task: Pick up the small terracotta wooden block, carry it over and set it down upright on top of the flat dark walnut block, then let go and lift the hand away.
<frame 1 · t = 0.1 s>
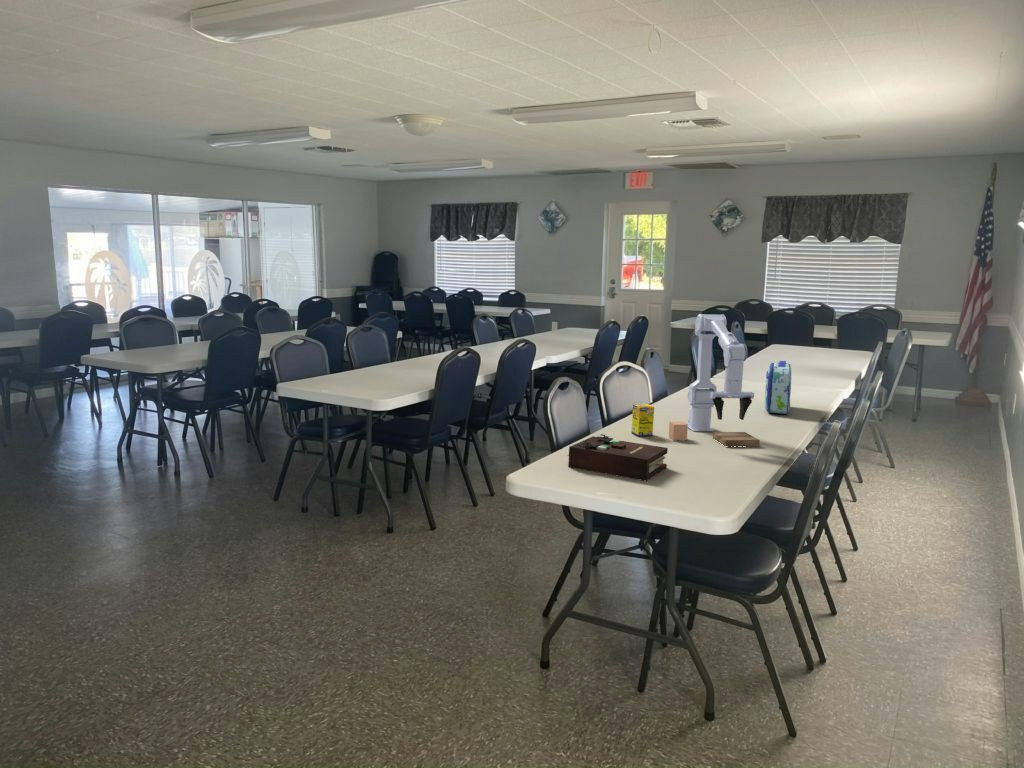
hand: (730, 419, 257), 10 cm above the table, tool pointing down, fingers open, 7 cm apart
supplement box: (642, 435, 275), on the table
lunch box: (776, 410, 326), on the table
walnut block: (735, 444, 266), on the table
terracotta block: (677, 439, 270), on the table
decorative book: (617, 469, 232), on the table
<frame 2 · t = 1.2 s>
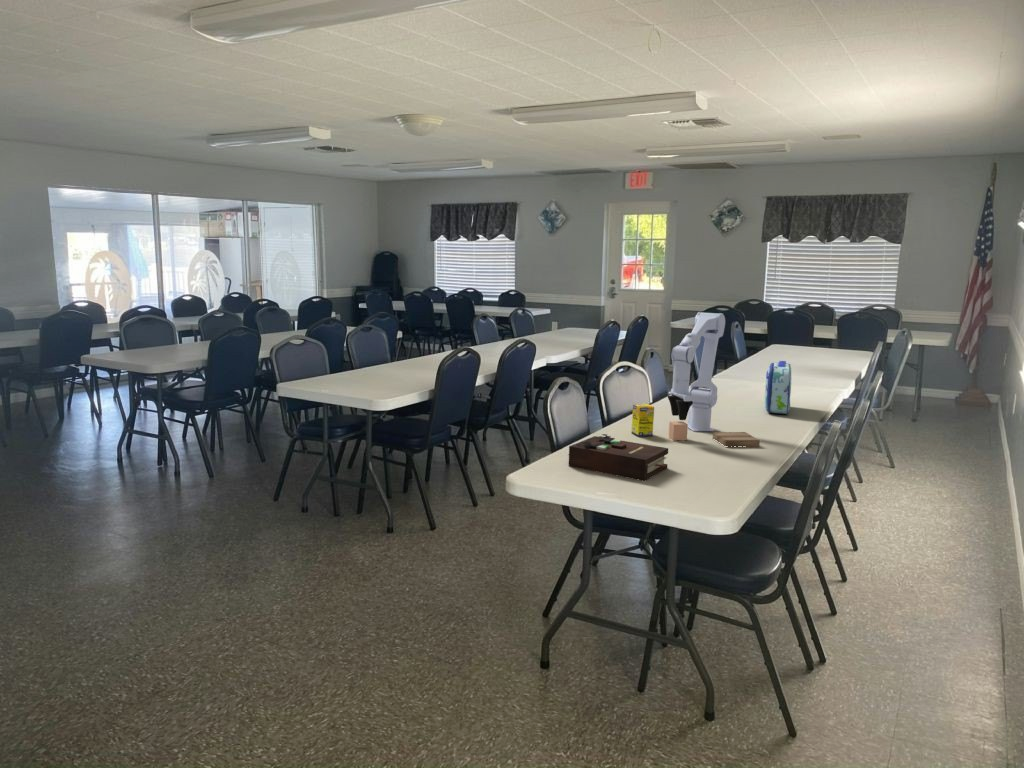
hand: (678, 417, 268), 8 cm above the table, tool pointing down, fingers open, 7 cm apart
nothing on the table moved.
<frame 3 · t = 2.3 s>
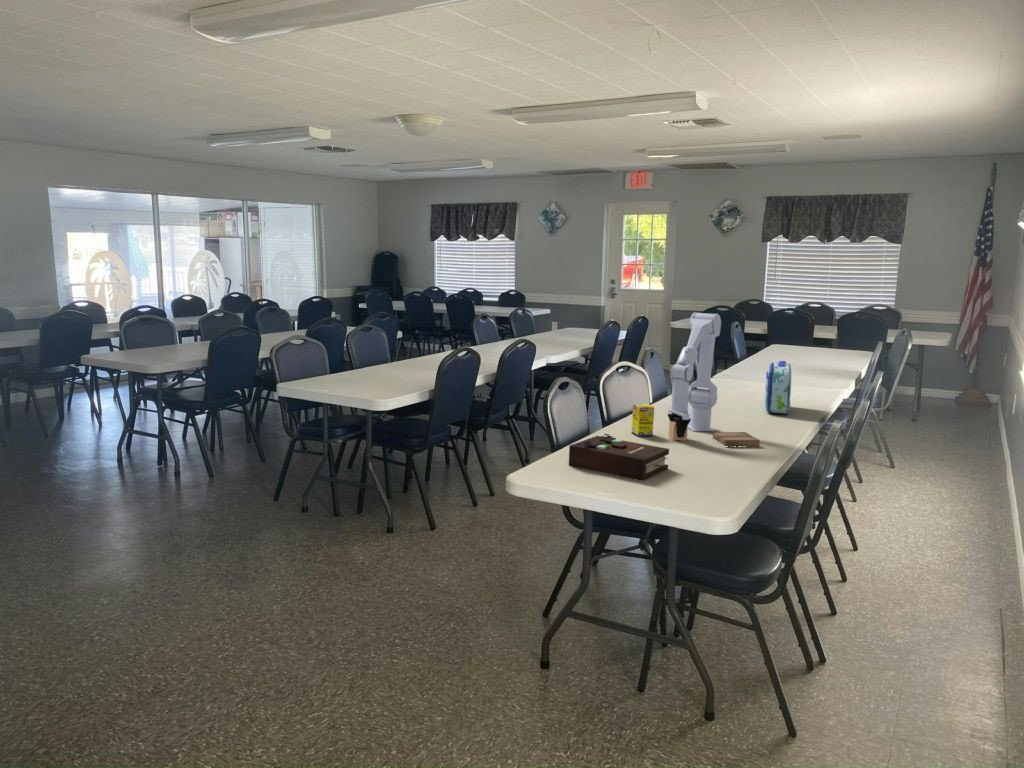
hand: (677, 435, 269), 1 cm above the table, tool pointing down, fingers closed on terracotta block, 5 cm apart
terracotta block: (677, 439, 270), on the table, touching gripper
everything else where it was.
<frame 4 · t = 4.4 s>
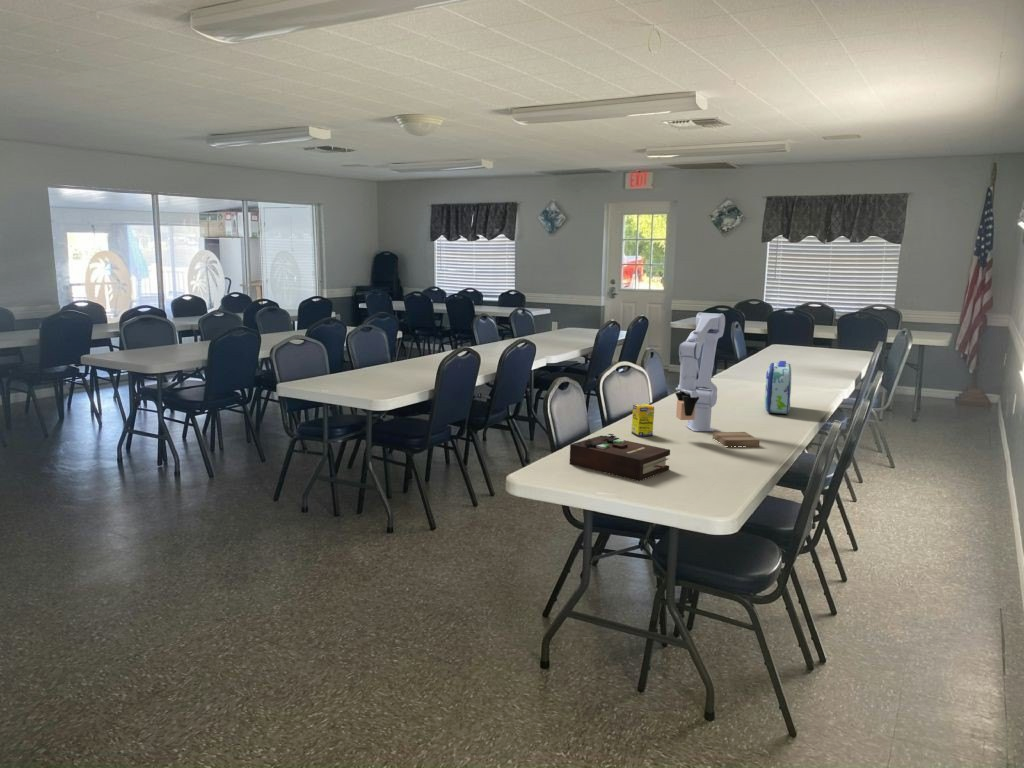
hand: (685, 413, 268), 9 cm above the table, tool pointing down, fingers closed on terracotta block, 5 cm apart
terracotta block: (685, 418, 268), point 8 cm above the table, touching gripper
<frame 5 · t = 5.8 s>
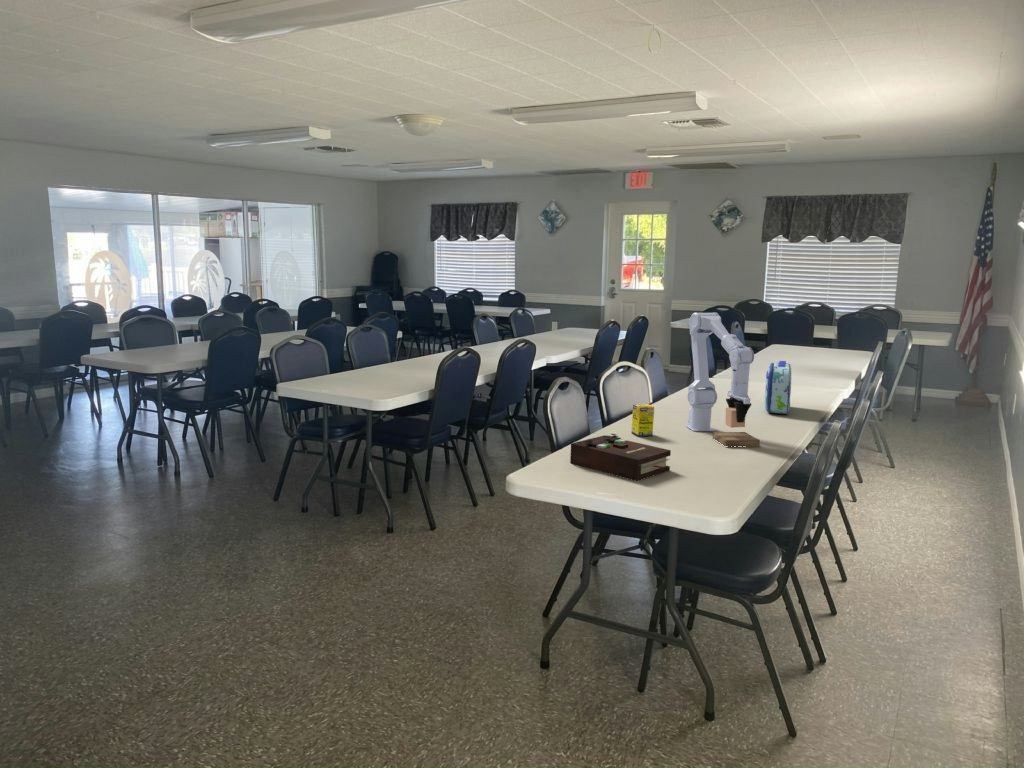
hand: (737, 420, 265), 8 cm above the table, tool pointing down, fingers closed on terracotta block, 5 cm apart
terracotta block: (735, 425, 265), point 6 cm above the table, touching gripper
when the fingers open (6 cm above the table, at t = 6.7 s): terracotta block drops 2 cm, resting on walnut block.
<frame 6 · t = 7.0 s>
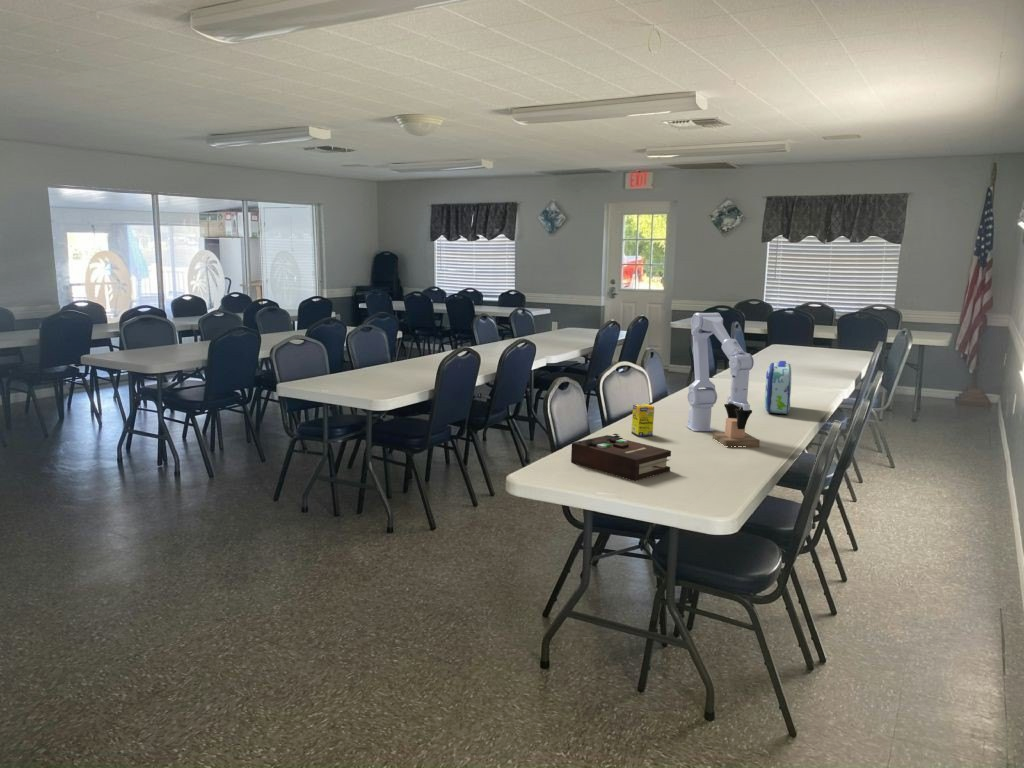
hand: (736, 426, 265), 6 cm above the table, tool pointing down, fingers open, 7 cm apart
walnut block: (735, 444, 266), on the table, touching terracotta block
terracotta block: (734, 436, 265), point 2 cm above the table, touching walnut block
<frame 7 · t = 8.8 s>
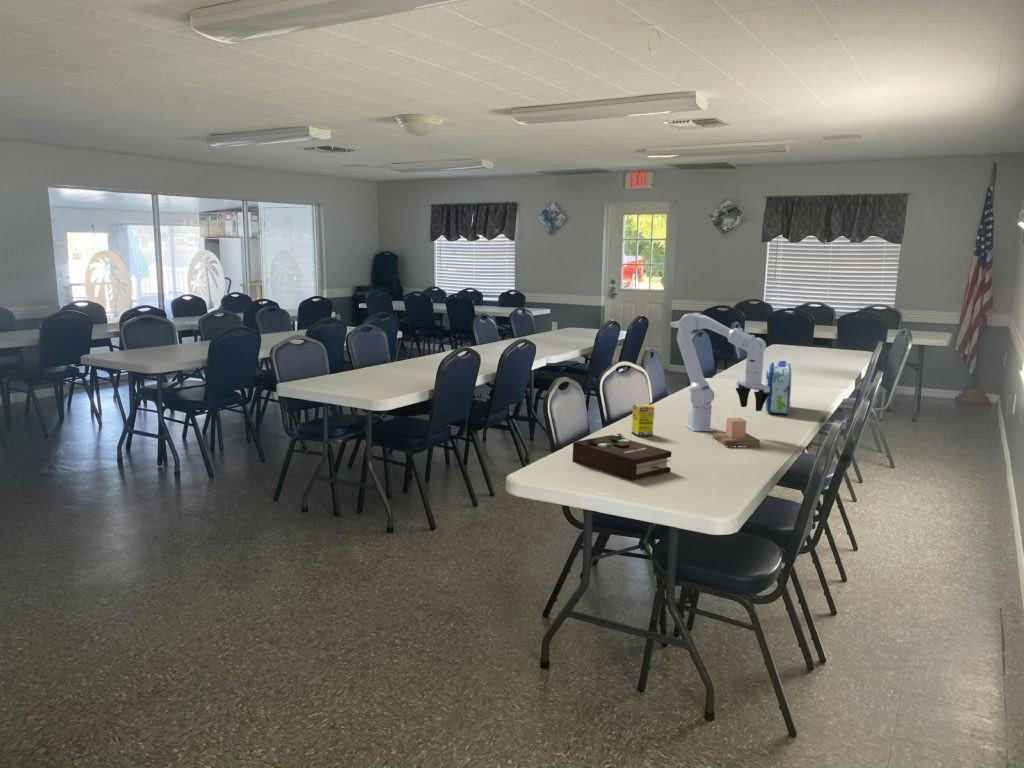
hand: (751, 408, 274), 10 cm above the table, tool pointing down, fingers open, 7 cm apart
walnut block: (735, 444, 266), on the table
terracotta block: (735, 436, 265), point 2 cm above the table
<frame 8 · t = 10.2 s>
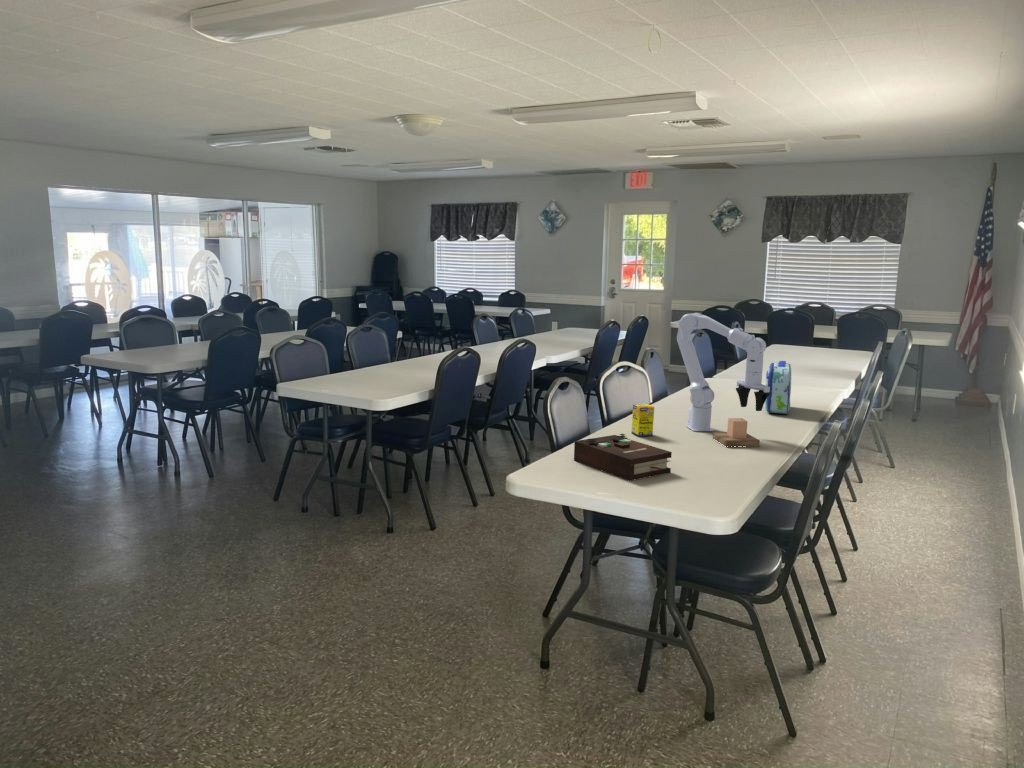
hand: (751, 408, 274), 10 cm above the table, tool pointing down, fingers open, 7 cm apart
walnut block: (735, 444, 266), on the table, touching terracotta block
terracotta block: (736, 436, 265), point 2 cm above the table, touching walnut block
at the end: terracotta block inside the target area on the walnut block (0.3 cm from its centre), point 3.0 cm above the walnut block's base; terracotta block tilted 1°; the gripper is holding nothing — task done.
